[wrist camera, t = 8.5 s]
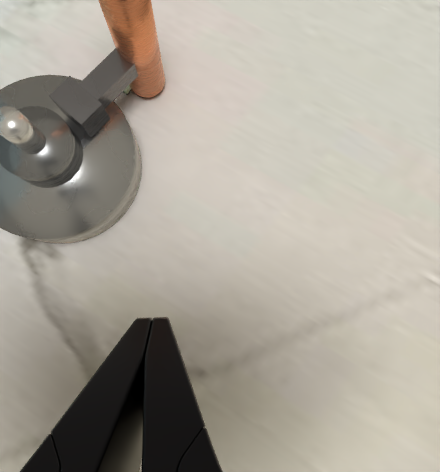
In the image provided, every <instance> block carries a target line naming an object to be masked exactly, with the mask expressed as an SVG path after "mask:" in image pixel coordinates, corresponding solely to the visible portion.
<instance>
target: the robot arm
mask: <svg viewBox="0 0 440 472" xmlns="http://www.w3.org/2000/svg"><path fill="white" fill-rule="evenodd" d="M51 434H52V435H51ZM51 434H49V435H48V436H47V437H46V439H45V440H44V441H43V443H42V444H41V445H40V447H39V448H38V449H37V451H36V452H35V453H34V454H33V456H32V457H31V458H30V459H29V461H28V462H27V463H26V464H25V466H24V467H23V468H22V469H21V471H20V472H139V469H140V464H141V459H142V472H223V471H222V469H221V467H220V465H219V462H218V459H217V457H216V454H215V451H214V449H213V446H212V444H211V441H210V438H209V435H208V432H207V429H206V428H205V423H204V420H203V418H202V415H201V412H200V409H199V406H198V403H197V400H196V397H195V394H194V391H193V388H192V385H191V382H190V379H189V376H188V374H187V371H186V368H185V365H184V362H183V359H182V356H181V353H180V350H179V347H178V344H177V341H176V338H175V335H174V333H173V330H172V327H171V324H170V321H169V319H168V318H167V317H157V318H154V319H152V318H138V319H136V320H135V321H134V322H133V324H132V325H131V326H130V328H129V329H128V330H127V332H126V333H125V334H124V336H123V337H122V338H121V340H120V341H119V342H118V344H117V345H116V346H115V348H114V349H113V350H112V352H111V353H110V354H109V356H108V357H107V358H106V360H105V361H104V362H103V363H102V365H101V366H100V367H99V369H98V370H97V371H96V373H95V374H94V375H93V377H92V378H91V379H90V381H89V382H88V383H87V385H86V386H85V387H84V389H83V390H82V391H81V393H80V394H79V395H78V397H77V398H76V399H75V400H74V402H73V403H72V404H71V406H70V407H69V408H68V410H67V411H66V412H65V414H64V415H63V416H62V418H61V419H60V420H59V422H58V423H57V424H56V426H55V427H54V428H53V430H52V431H51Z"/></svg>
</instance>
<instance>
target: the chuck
mask: <svg viewBox="0 0 440 472" xmlns="http://www.w3.org/2000/svg"><path fill="white" fill-rule="evenodd" d="M67 78H68V77H66V76H59V75H43V76H35V77H30V78H26V79H23V80H20V81H17V82H14V83H12V84H10V85H8V86H6V87H4V88H3V89H1V90H0V228H2V229H4V230H6V231H8V232H10V233H13V234H16V235H19V236H22V237H26V238H31V239H35V240H39V241H43V242H49V243H74V242H79V241H83V240H86V239H89V238H92V237H95V236H97V235H99V234H100V233H102V232H104V231H106V230H107V229H109V228H110V227H111V226H113V225H114V224H115V223H116V222H117V221H118V220H120V218H121V217H122V216H123V215H124V214H125V213H126V211H127V210H128V208H129V207H130V205H131V204H132V202H133V200H134V198H135V196H136V194H137V191H138V188H139V184H140V179H141V169H142V164H141V155H140V151H139V147H138V144H137V141H136V139H135V137H134V135H133V132H132V130H131V128H130V126H129V124H128V122H127V120H126V118H125V116H124V114H123V113H122V111H121V110H120V109H119V107H118V106H117V105H116V104H115V102H114V101H112V102H111V103H110V104H109V105H108V106H107V107H106V108H105V110H106V112H107V114H108V116H109V117H110V120H109V121H108V122H107V123H106V124H105V125H104V126H103V127H102V128H101V129H100V130H99V131H98V132H97V133H96V134H95V135H94V136H93V137H92V138H91V137H90V136H89V135H88V134H87V133H85V132H84V131H83V130H82V129H81V128H80V127H79V126H77V125H76V124H75V123H74V122H73V121H72V120H71V119H70V118H68V117H67V116H66V115H65V114H64V113H63V112H62V111H61V110H60V109H59V108H58V107H57V105H56V104H55V103H54V102H53V101H52V99H51V98H50V97H49V95H50V94H51V93H52V92H53V91H54V90H55V89H56V88H57V87H58V86H60V85H61V84H62V83H63V82H64V81H65V80H66V79H67ZM73 79H74V80H75V81H76V82H77V83H80V82H81V81H82V80H78V79H75V78H73Z"/></svg>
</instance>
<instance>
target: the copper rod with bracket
mask: <svg viewBox="0 0 440 472" xmlns="http://www.w3.org/2000/svg"><path fill="white" fill-rule="evenodd" d="M99 3H100V6H101V8H102V11H103V14H104V17H105V19H106V22H107V25H108V27H109V30H110V33H111V36H112V38H113V41H114V44H115V47H116V49H115V50H114V51H112V52H111V53H110V54H109V55H108V56H107V57H106V58H105V59H104V60H103V61H102V62H101V63H100V64H99V65H98V66H97V67H96V68H95V69H94V70H93V71H92V72H91V73H90V74H89V75H88V76H87V77H86V78H85V79H84V80H83V81H81V82H80V83H77V82H76V81H75V80H74V79H73V78H72V77H71V76H69V77H68V78H67V79H66V80H65V81H64V82H63V83H62V84H61V85H60V86H58V87H57V88H56V89H55V90H54V91H53V92H52V93H51V94H50V95H49V97H50V98H51V99H52V101H53V102H54V103H55V104H56V105H57V107H58V108H59V109H60V110H61V111H62V112H63V113H64V114H65V115H66V116H67V117H68V118H70V119H71V120H72V121H73V122H74V123H75V124H76V125H77V126H79V127H80V128H81V129H82V130H83V131H84V132H85V133H87V134H88V135H89V136H90V137H91V138H92V137H93V136H94V135H95V134H96V133H97V132H98V131H99V130H100V129H101V128H102V127H103V126H104V125H105V124H106V123H107V122H108V121H109V120H110V117H109V116H108V114H107V112H106V110H105V108H106V107H107V106H108V105H109V104H110V103H111V102H112V101H113V100H114V99H115V98H116V97H117V96H118V95H119V94H120V93H122V92H123V91H124V90H125V89H126V88H127V87H128V86H129V85H130V87H131V89H132V90H133V92H134V93H136V94H137V95H139V96H142V97H153V96H155V95H157V94H159V93H160V92H161V91H162V89H163V87H164V84H165V77H164V71H163V66H162V60H161V54H160V49H159V43H158V38H157V32H156V27H155V21H154V15H153V10H152V4H151V0H99Z"/></svg>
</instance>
